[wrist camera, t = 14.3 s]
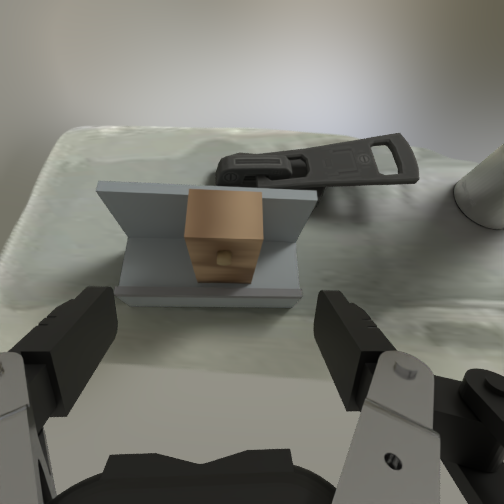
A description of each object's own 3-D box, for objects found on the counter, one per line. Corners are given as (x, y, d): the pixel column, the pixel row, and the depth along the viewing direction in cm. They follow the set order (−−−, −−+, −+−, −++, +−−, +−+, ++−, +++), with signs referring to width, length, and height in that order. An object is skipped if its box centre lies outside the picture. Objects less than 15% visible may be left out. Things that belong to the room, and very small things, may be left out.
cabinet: (250, 248, 30) (261, 191, 21) (251, 291, 28) (263, 249, 19) (200, 246, 29) (188, 188, 20) (196, 290, 27) (183, 247, 18)
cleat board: (287, 249, 35) (316, 190, 24) (291, 307, 32) (327, 271, 21) (140, 245, 33) (98, 180, 22) (129, 306, 30) (75, 266, 19)
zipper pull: (428, 182, 33) (215, 185, 30) (396, 213, 39) (217, 217, 36) (404, 127, 36) (213, 125, 33) (379, 163, 42) (215, 163, 39)
